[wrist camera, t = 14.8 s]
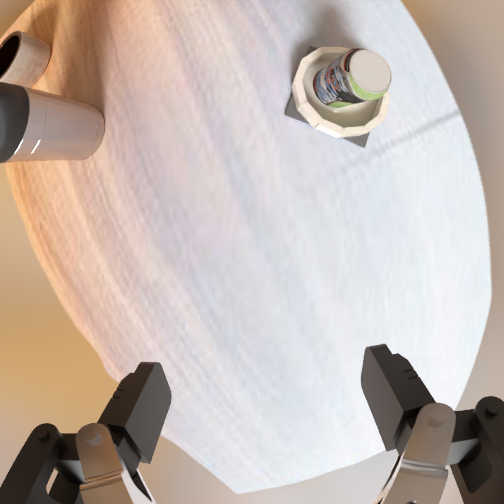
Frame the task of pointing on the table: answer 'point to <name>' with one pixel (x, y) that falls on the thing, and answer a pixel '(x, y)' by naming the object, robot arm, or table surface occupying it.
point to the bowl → (328, 118)
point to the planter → (23, 59)
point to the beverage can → (352, 79)
